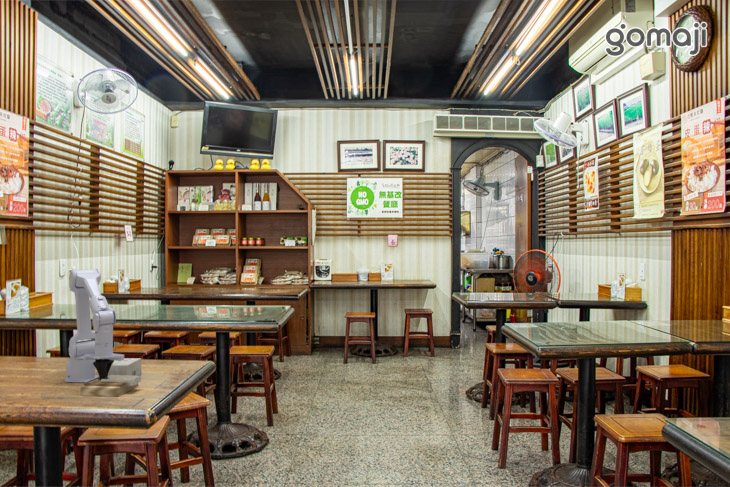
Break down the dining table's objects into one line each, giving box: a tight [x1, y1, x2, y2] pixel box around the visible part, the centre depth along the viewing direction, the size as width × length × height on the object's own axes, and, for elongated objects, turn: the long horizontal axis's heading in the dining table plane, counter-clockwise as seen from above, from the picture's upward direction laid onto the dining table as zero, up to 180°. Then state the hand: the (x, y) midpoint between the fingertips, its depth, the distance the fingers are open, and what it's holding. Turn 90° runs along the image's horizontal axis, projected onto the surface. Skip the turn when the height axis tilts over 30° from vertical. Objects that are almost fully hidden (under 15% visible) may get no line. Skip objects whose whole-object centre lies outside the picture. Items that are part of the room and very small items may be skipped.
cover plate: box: [101, 375, 142, 386], centre depth 160 cm, size 12×5×2 cm, turn 86°
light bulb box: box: [108, 357, 142, 376], centre depth 176 cm, size 11×7×11 cm
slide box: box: [80, 377, 139, 398], centre depth 160 cm, size 14×12×4 cm
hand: (103, 379), depth 160 cm, fingers closed
